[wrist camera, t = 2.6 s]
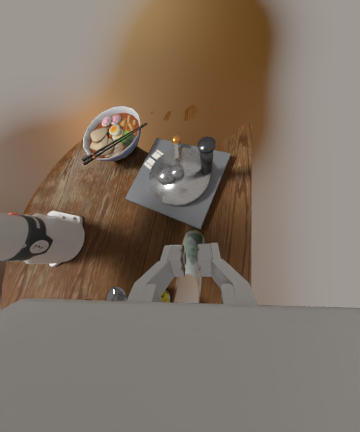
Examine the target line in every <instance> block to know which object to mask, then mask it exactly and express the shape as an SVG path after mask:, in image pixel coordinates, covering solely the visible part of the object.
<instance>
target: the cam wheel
mask: <svg viewBox="0 0 360 432" xmlns="http://www.w3.org/2000/svg"><path fill="white" fill-rule="evenodd" d="M180 143H181V139H180V137H179V136H174V137H173V138H172V144H173V145H174V147H175V149H173V150H170V151H168V152H166V153H164V154H163V155H161V156H160V157H159V158H158V159H157V160H156V161H155V163H154V164H153V166H152V168H151V170H150V173H149V186H150V189H151V191H152V193H153V194H154V195H155V196H156V197H157V198H158V199H159V200H160V201H161V202H162V203H164V204H166V205H169V206H176V207H178V206H185V205H189V204H191V203H193V202H195V201H197V200H198V199H199V198H200V197H201V196H202V195H203V194H204V193H205V191H206V190H207V188H208V185H209V182H210V173H211V172H212V168H213V152H214V149H215V140H214V139H213V138H212V137H203V138H202V139H200V140H199V142H198V150H199V152H198V151H196V150H194V149H190V148H179V145H180Z"/></svg>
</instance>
